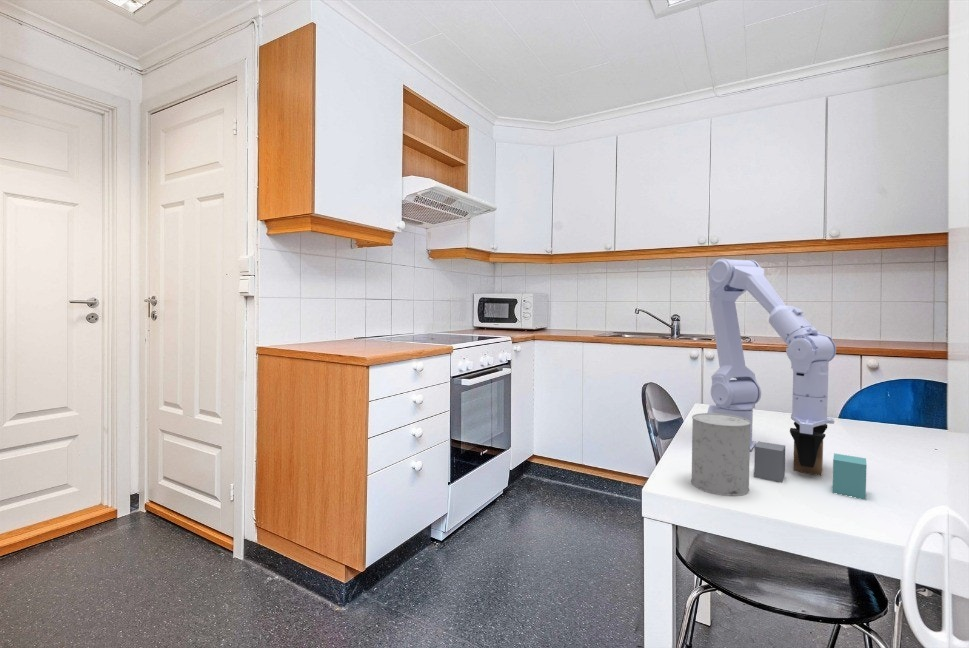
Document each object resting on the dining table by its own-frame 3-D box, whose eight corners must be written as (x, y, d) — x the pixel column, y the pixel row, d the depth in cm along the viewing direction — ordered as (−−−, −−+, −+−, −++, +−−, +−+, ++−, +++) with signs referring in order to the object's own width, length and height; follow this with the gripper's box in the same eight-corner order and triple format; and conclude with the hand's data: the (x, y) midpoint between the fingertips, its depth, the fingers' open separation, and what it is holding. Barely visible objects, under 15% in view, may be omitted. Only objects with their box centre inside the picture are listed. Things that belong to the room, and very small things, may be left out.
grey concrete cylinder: (748, 500, 77) (749, 428, 77) (687, 488, 82) (688, 421, 82) (750, 482, 86) (751, 417, 85) (694, 472, 91) (695, 410, 90)
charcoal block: (754, 477, 88) (754, 446, 88) (757, 471, 92) (758, 441, 91) (781, 483, 85) (782, 451, 85) (784, 476, 89) (785, 445, 89)
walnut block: (793, 470, 92) (794, 441, 91) (795, 465, 95) (796, 436, 95) (821, 476, 89) (822, 445, 89) (822, 469, 92) (823, 440, 92)
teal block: (832, 493, 81) (833, 459, 80) (833, 485, 84) (834, 453, 84) (865, 500, 78) (866, 465, 78) (865, 491, 81) (866, 458, 81)
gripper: (833, 403, 83) (831, 476, 84) (836, 392, 95) (834, 457, 95) (787, 398, 88) (785, 468, 88) (795, 388, 99) (793, 450, 99)
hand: (808, 462), depth 92 cm, fingers open, 6 cm apart
